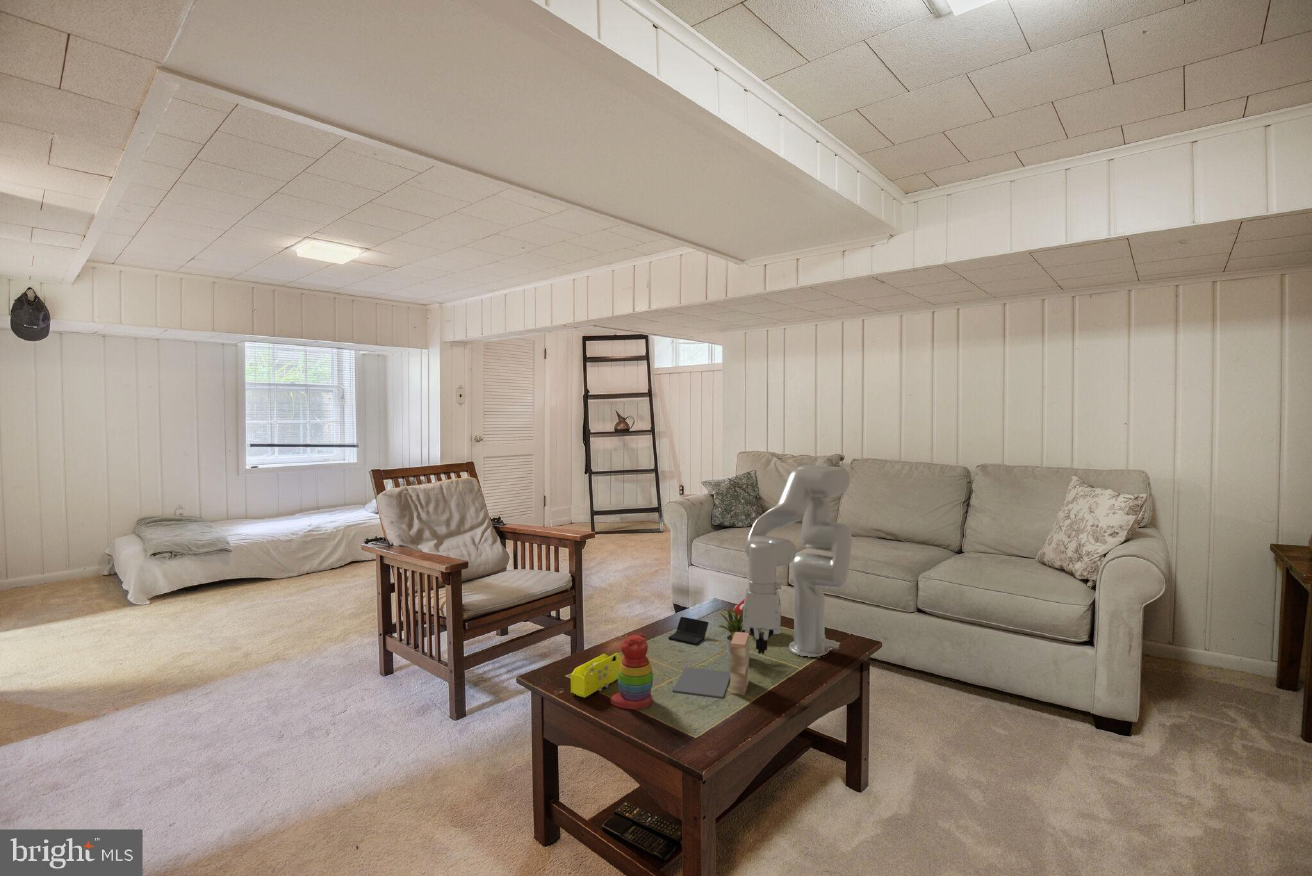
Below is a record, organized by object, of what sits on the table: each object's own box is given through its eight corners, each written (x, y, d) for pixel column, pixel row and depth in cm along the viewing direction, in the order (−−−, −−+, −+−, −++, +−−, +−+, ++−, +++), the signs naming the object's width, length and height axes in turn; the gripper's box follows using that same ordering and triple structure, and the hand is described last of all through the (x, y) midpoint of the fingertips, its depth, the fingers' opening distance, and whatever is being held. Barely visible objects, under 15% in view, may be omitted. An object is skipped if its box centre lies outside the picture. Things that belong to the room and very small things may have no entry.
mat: (731, 673, 181) (731, 672, 181) (722, 698, 166) (722, 696, 166) (685, 668, 185) (685, 666, 185) (672, 691, 169) (672, 690, 169)
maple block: (748, 681, 176) (749, 633, 176) (744, 695, 168) (745, 644, 167) (735, 679, 177) (735, 631, 177) (730, 693, 169) (730, 643, 168)
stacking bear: (633, 688, 171) (633, 626, 171) (661, 699, 165) (661, 634, 164) (606, 702, 163) (606, 637, 162) (635, 714, 157) (635, 646, 156)
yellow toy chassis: (585, 701, 164) (585, 670, 164) (570, 695, 168) (569, 665, 167) (622, 679, 177) (622, 651, 177) (607, 674, 181) (607, 647, 180)
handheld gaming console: (666, 637, 206) (675, 609, 211) (670, 643, 212) (679, 616, 217) (698, 647, 202) (707, 618, 207) (701, 653, 207) (710, 625, 212)
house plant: (760, 670, 183) (760, 616, 182) (714, 666, 186) (714, 613, 185) (761, 652, 197) (762, 602, 196) (718, 648, 200) (719, 599, 199)
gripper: (790, 585, 171) (789, 649, 172) (737, 581, 175) (736, 644, 176) (789, 593, 164) (788, 660, 165) (733, 588, 168) (732, 654, 169)
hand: (761, 652), depth 170 cm, fingers closed
